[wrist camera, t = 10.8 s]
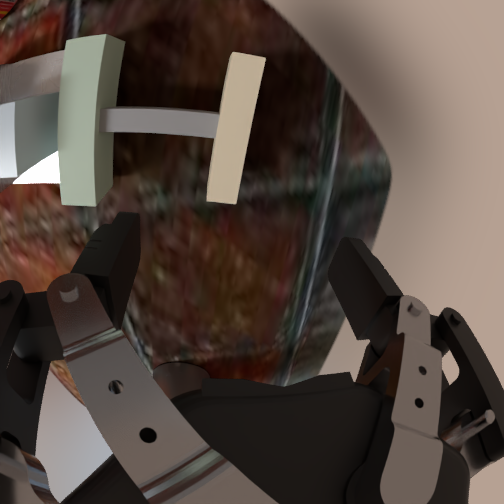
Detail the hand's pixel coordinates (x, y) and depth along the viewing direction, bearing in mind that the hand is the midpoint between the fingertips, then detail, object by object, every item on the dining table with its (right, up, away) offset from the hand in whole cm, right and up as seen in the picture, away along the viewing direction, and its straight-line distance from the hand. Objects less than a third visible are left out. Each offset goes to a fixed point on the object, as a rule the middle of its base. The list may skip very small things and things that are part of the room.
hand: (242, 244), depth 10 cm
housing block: (-17, +11, +5) cm, 21 cm away
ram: (-7, +10, +7) cm, 14 cm away
